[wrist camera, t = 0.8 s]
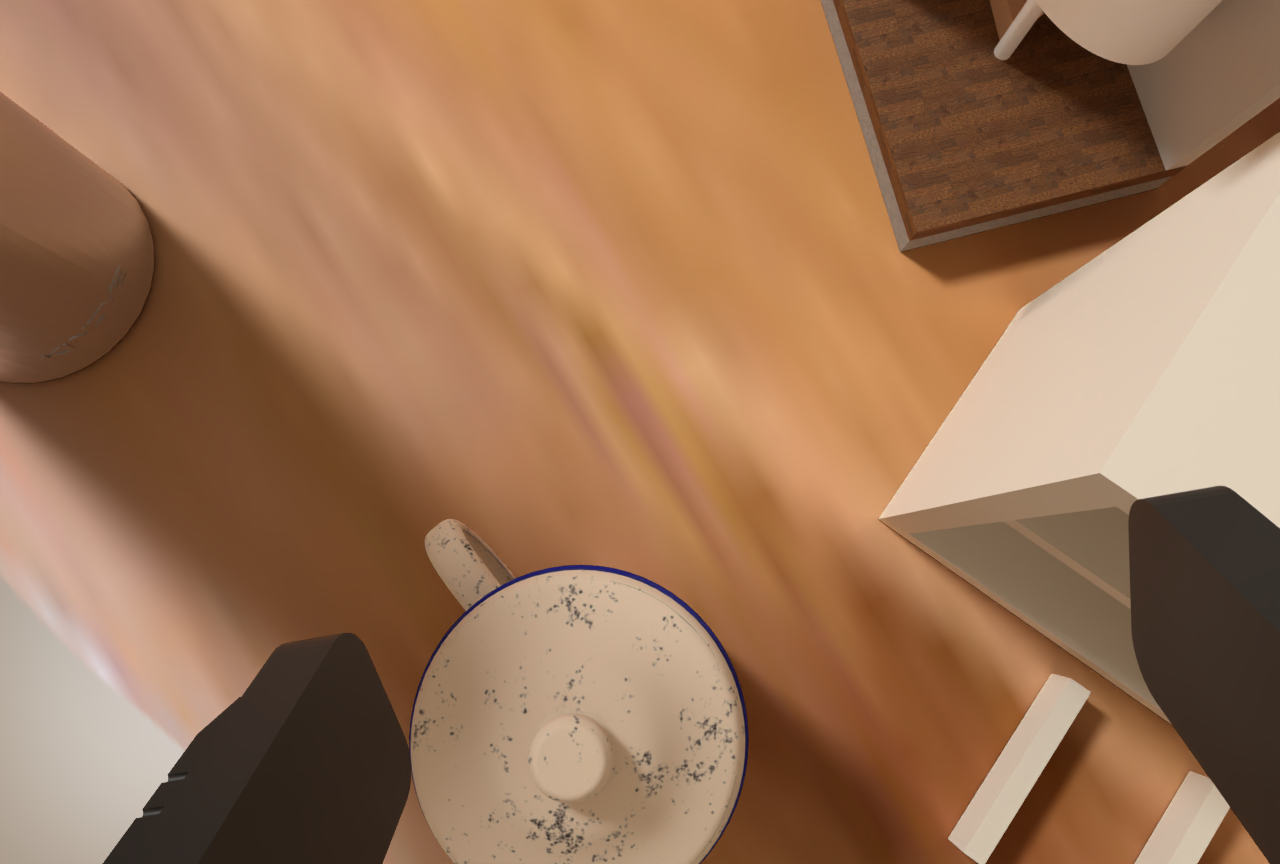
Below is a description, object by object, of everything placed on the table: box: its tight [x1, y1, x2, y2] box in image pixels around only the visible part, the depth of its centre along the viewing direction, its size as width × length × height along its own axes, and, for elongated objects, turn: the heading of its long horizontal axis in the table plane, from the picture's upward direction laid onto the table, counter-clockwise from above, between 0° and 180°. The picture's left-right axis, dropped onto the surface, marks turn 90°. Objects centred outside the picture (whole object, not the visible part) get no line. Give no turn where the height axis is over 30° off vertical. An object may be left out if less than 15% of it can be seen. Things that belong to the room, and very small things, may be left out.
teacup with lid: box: [409, 519, 748, 864], centre depth 26 cm, size 12×9×12 cm
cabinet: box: [879, 132, 1280, 864], centre depth 24 cm, size 15×18×16 cm
